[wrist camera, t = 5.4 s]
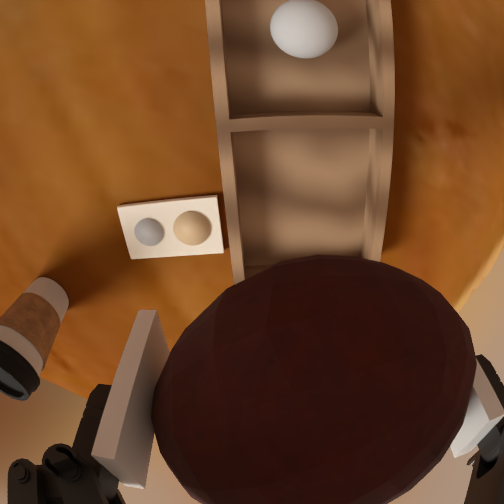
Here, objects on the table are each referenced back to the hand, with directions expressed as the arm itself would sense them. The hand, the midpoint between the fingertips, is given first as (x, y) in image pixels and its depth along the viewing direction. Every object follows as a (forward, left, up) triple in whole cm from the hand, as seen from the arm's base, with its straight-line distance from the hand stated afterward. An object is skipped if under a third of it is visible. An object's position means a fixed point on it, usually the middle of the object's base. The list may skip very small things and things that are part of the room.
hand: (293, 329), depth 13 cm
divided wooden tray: (-6, +3, -19) cm, 20 cm away
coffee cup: (+12, -29, -19) cm, 37 cm away
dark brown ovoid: (0, 0, -1) cm, 1 cm away
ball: (-13, +3, -18) cm, 23 cm away
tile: (+4, -10, -19) cm, 22 cm away
